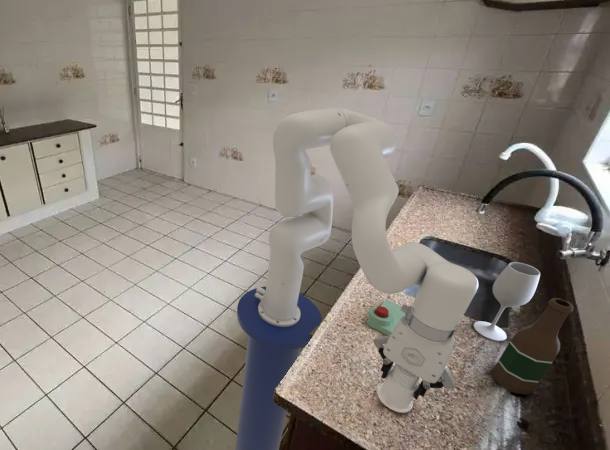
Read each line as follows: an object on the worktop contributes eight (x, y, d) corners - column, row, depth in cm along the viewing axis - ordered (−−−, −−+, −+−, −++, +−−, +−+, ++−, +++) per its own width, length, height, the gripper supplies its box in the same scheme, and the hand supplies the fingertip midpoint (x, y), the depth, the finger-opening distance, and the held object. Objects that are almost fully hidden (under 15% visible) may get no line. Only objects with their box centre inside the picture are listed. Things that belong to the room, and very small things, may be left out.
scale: (362, 322, 99) (365, 313, 98) (381, 301, 107) (384, 292, 105) (421, 353, 90) (425, 343, 88) (437, 328, 97) (441, 319, 96)
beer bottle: (536, 402, 78) (596, 321, 66) (492, 386, 81) (542, 306, 70) (529, 376, 83) (582, 298, 72) (488, 362, 87) (533, 286, 76)
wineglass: (487, 342, 93) (523, 278, 83) (466, 321, 99) (496, 260, 90) (514, 341, 93) (554, 277, 83) (491, 320, 100) (525, 259, 90)
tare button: (373, 314, 98) (374, 309, 97) (377, 309, 100) (379, 304, 99) (384, 319, 96) (386, 315, 95) (388, 314, 98) (390, 310, 97)
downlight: (401, 421, 73) (417, 390, 68) (369, 396, 78) (382, 366, 73) (418, 400, 77) (435, 370, 72) (387, 378, 82) (400, 348, 77)
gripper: (375, 308, 70) (353, 369, 79) (480, 362, 59) (440, 425, 68) (390, 292, 74) (368, 351, 83) (490, 339, 63) (452, 401, 72)
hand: (400, 383), depth 75 cm, fingers closed on downlight, 5 cm apart
